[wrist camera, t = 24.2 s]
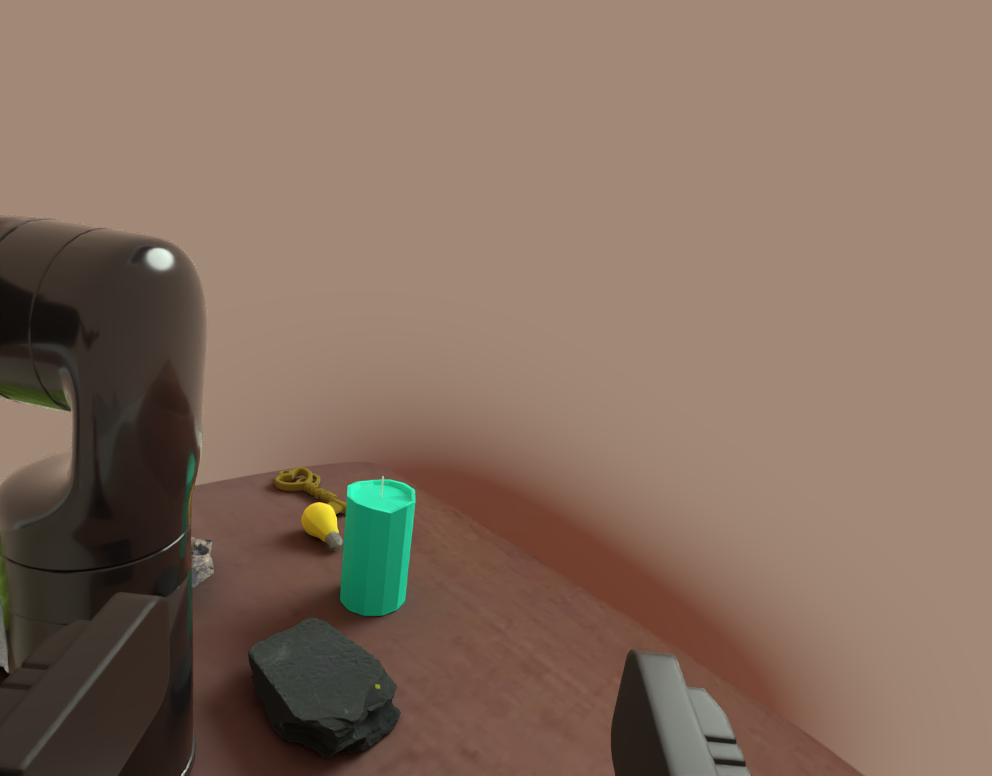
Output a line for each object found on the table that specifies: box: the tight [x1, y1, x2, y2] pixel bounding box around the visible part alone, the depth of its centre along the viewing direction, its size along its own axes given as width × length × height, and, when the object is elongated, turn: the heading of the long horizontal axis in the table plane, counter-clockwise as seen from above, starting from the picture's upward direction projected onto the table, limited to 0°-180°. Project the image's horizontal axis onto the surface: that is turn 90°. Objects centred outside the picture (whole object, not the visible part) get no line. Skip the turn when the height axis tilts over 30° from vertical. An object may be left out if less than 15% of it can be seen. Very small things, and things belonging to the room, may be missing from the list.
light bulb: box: [301, 502, 343, 549], centre depth 70 cm, size 3×6×4 cm, turn 45°
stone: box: [248, 617, 401, 759], centre depth 49 cm, size 8×12×3 cm
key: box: [274, 467, 347, 514], centre depth 79 cm, size 12×1×5 cm
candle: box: [340, 476, 415, 616], centre depth 61 cm, size 6×6×12 cm
